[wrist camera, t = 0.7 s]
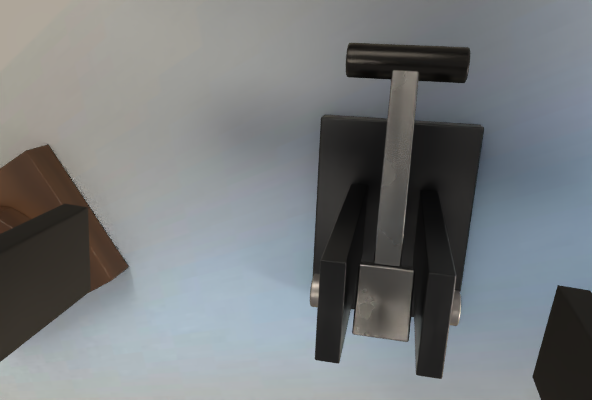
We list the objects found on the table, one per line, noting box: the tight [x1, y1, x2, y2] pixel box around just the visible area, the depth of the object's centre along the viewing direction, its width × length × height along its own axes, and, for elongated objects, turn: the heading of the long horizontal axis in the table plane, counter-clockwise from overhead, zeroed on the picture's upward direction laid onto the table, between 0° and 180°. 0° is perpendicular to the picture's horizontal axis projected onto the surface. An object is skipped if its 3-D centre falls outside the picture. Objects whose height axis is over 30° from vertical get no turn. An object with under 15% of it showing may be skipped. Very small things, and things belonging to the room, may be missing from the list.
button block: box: [0, 145, 128, 293], centre depth 36 cm, size 12×10×4 cm
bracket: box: [310, 115, 484, 379], centre depth 26 cm, size 12×9×13 cm
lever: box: [346, 43, 470, 342], centre depth 22 cm, size 12×5×2 cm, turn 178°
